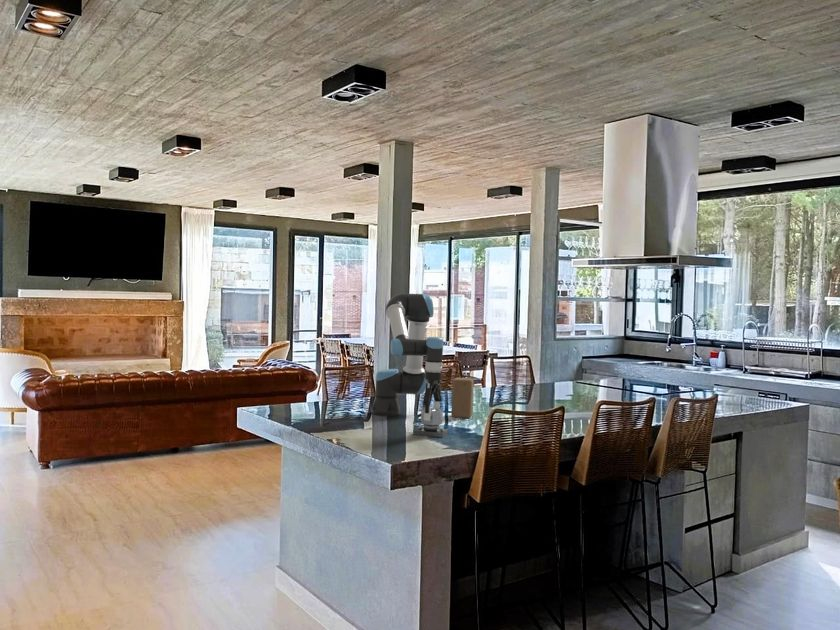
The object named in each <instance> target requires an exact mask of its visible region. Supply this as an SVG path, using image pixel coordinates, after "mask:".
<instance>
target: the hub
mask: <svg viewBox="0 0 840 630" xmlns="http://www.w3.org/2000/svg"><path fill="white" fill-rule="evenodd" d="M431 409H432V410H438V411H431V414H430V421H428V420H424V408H422V409H421V412H420V413H421V415H420V424H422V425H424V424H425V425H439V426H440V425H442V424H443V416H444V415H443V412H444V410H443V409H440V408H439V409H433V408H432V407H431Z"/></svg>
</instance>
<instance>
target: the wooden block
mask: <svg viewBox="0 0 840 630" xmlns="http://www.w3.org/2000/svg"><path fill="white" fill-rule="evenodd" d="M474 382H475V380H474V378H472V377H471V378H470V377H455V378H453V380H452V392H451V417H452V418H458V419H459V418H460V419H461V418H462V419H470V418H471V417H472V416H473V411H474V409H473V408H474V406H473V405H474V384H475V383H474Z"/></svg>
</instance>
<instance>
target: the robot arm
mask: <svg viewBox="0 0 840 630" xmlns="http://www.w3.org/2000/svg"><path fill="white" fill-rule="evenodd" d="M434 311H435V310H434V303H433V298H432V296H431V295H430V294H425V293H406V292H405V293H402V292H401V293H398V294H396V295H393V296H392V297H391V298H390V299H389V300H388V302H387V304H386V307H385V313H386V317H387V318H388V319H389V324H390V327H391V329H390V330H391V332H392V333H391V334H392V339H391V341H390V345H389V346H390V353H391V355H393V356H406V361H405V366H404V367H402V371H399V369H398V368H387V369H381V370H378V371H377V372H376V374H375V375H376V376H375V395H374V401H373V404H372V405H371V409H370V410H371V411H370V413H371V415H375V416H381V417H382V416H383V417H392V416H393V417H394V416H399V415H401V408H400V404H399V401H398V395H421V394H424V396H423V401H422V406H423V407H424V408H423V409H424V420H428V421H430V414H431V408H432V407H433V409H440V405H441V404H440V403H441V402H442V400H443V399H442V392H441V391H442V390H441V381H442V378H443V377H442V375H443V372H442V370H443V367H444V364H443V355H444V353H443V352H444V338H443V337H439V336H428V337H427V338H426V329H427V323H429V322H430V319H431V318H433V317H434ZM405 317H406V318H405ZM406 321H408V323H409V326H408V325H407V322H406ZM424 357H425V367H423V364H424V363H423V362H424ZM432 400H433V406H431V403H432Z"/></svg>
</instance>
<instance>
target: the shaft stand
mask: <svg viewBox="0 0 840 630" xmlns="http://www.w3.org/2000/svg"><path fill="white" fill-rule="evenodd" d="M431 411H438V410H432V409H431ZM449 434H450V429H448V428H447V429H446V428H440V425H425V424H423V426H418V427H416V428H415V429H413V430H412V435H413V436H422V437H423V436H424V437H433V438H441V439H442V438H445V437H446V436H448V435H449Z"/></svg>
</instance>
